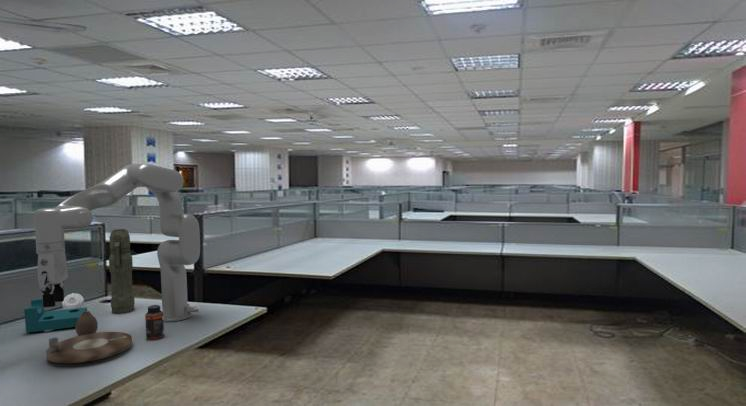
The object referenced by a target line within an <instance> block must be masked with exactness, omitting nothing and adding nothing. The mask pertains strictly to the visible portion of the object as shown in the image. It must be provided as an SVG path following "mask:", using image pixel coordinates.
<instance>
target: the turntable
mask: <svg viewBox="0 0 746 406" xmlns="http://www.w3.org/2000/svg"><path fill="white" fill-rule="evenodd" d="M132 344H133V336H132V335H131V334H129V333H126V332H121V331H101V332H96V333H92V334H86V335H81V336H78V335H77V336H73V337H69V338H67V339H64V340H61V341H59V338H58V337H52V338H49V339H48V348H47V349H46V353H45V354H46V359H47V360H48V361H50V362H52V363H58V364H76V363H77V364H78V363H85V362H92V361H96V360H100V359H101V360H102V359H104V358H109V357H111V356H114V355H117V354H119V353H122V352H123V351H125V350H127V349H129V348H130V347H131V346H132Z"/></svg>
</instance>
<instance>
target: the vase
mask: <svg viewBox="0 0 746 406" xmlns="http://www.w3.org/2000/svg"><path fill="white" fill-rule="evenodd" d="M98 327H99V325H98V320H97V318H96V317H95V316H94V315H93V314H92V313H91V311H89V310H87V311H85V312H82V314H81V316H80V317H79V319H78V320H77V322H76V326H75V327H74V328H75V333H76V334H77V336H81V335H86V334H92V333H97V331H98Z"/></svg>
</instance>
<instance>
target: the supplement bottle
mask: <svg viewBox="0 0 746 406" xmlns="http://www.w3.org/2000/svg"><path fill="white" fill-rule="evenodd" d="M144 317H145V318H144V320H145V335H146V336H145V337H146V339H147V340H149V341H154V340H160V339H162V338H164V337H165V321H164V315H163V312H162V309H161V305H160V304H154V305H153V304H151V305H150V306H148V307H147V312H146V314H145V315H144Z"/></svg>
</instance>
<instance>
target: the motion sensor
mask: <svg viewBox="0 0 746 406" xmlns="http://www.w3.org/2000/svg"><path fill="white" fill-rule="evenodd" d="M84 303H85V298H84V297H83V296H82V295H81V294H80V293H75V292H72V293H70V294H67V295H66V296H64V301H62V303H61V304H62V305H61V306H62V308H63V310H66V309H75V308H84Z"/></svg>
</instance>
